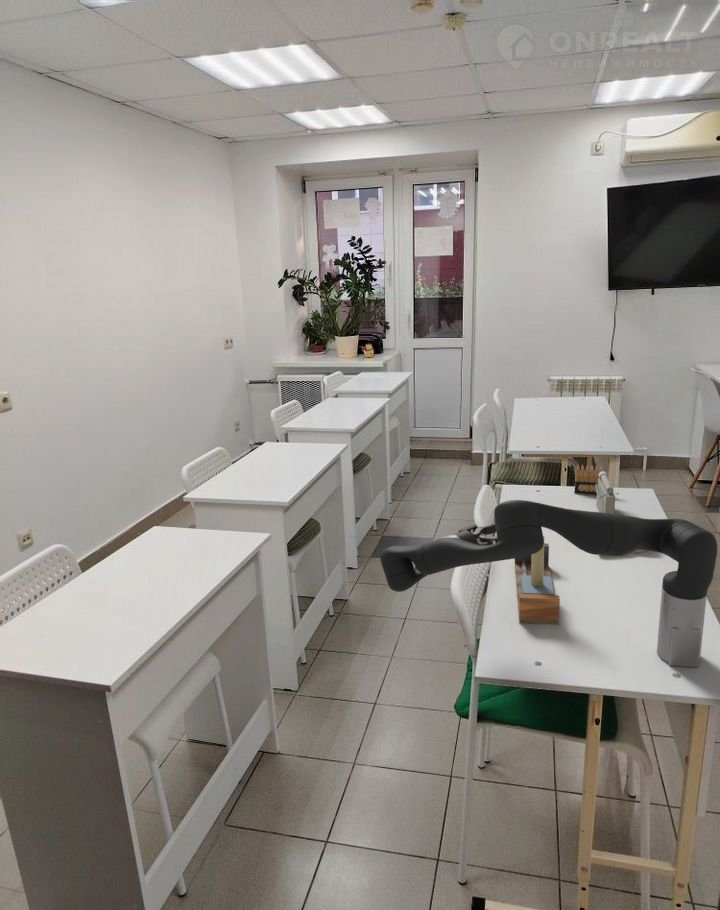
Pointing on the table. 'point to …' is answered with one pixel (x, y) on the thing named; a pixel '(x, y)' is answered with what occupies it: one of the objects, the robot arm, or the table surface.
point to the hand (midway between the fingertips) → (506, 532)
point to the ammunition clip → (586, 480)
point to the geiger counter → (605, 494)
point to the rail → (533, 605)
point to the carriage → (537, 577)
